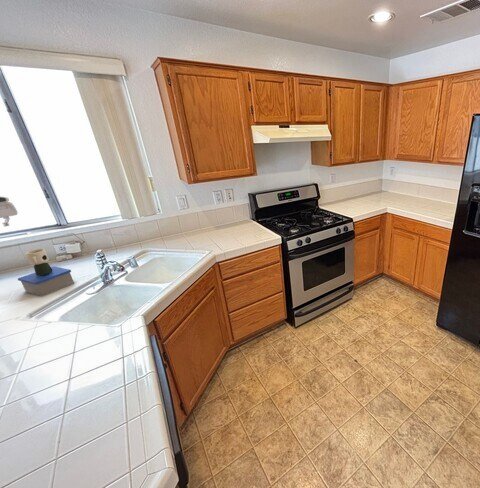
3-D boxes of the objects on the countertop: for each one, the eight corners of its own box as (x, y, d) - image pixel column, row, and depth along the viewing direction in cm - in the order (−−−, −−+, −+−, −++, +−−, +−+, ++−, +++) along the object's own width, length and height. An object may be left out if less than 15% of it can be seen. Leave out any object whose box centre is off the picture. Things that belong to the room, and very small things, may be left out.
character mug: (51, 275, 136) (41, 252, 132) (32, 279, 133) (21, 256, 128) (56, 268, 145) (47, 246, 140) (38, 271, 141) (28, 249, 136)
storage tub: (41, 296, 133) (34, 282, 130) (24, 292, 137) (17, 278, 134) (76, 282, 146) (70, 269, 143) (59, 279, 151) (53, 266, 148)
